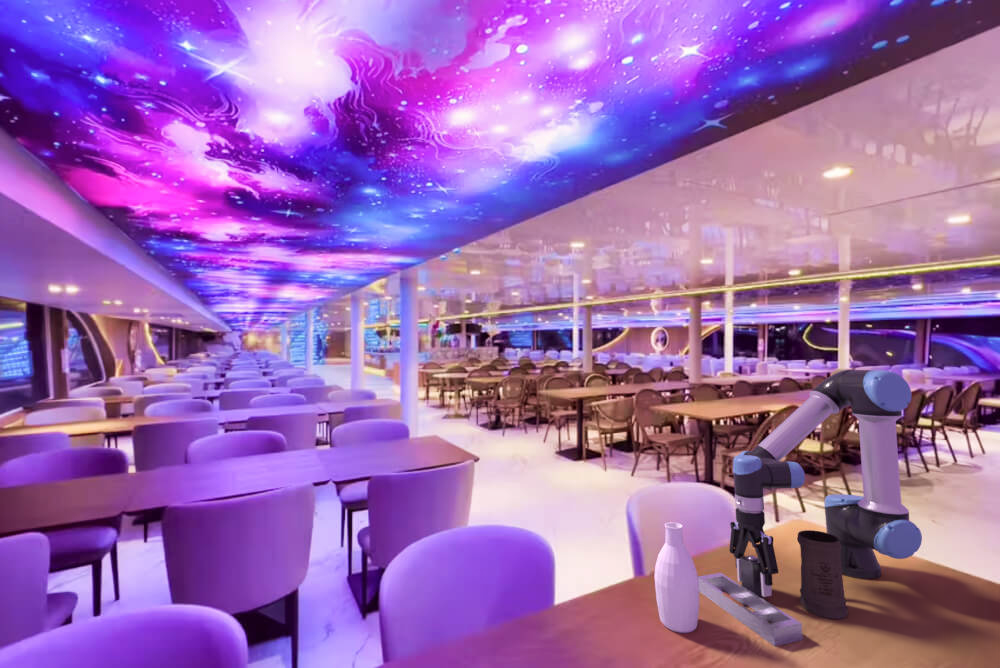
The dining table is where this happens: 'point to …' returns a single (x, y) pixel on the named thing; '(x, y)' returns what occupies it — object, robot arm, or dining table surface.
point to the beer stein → (821, 575)
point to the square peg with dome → (751, 574)
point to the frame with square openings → (764, 612)
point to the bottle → (676, 583)
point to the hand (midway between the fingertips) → (754, 587)
